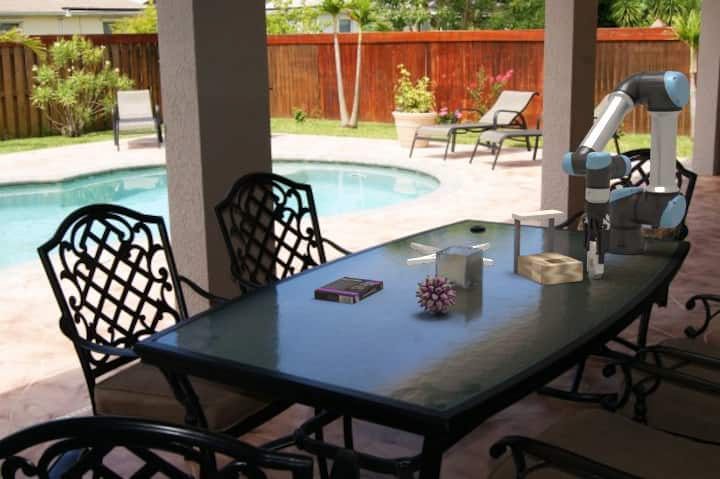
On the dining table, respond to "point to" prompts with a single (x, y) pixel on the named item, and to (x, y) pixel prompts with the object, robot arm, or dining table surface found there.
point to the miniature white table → (534, 216)
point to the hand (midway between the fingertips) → (595, 271)
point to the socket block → (550, 268)
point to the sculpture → (432, 251)
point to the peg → (593, 260)
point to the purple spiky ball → (435, 293)
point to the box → (348, 290)
